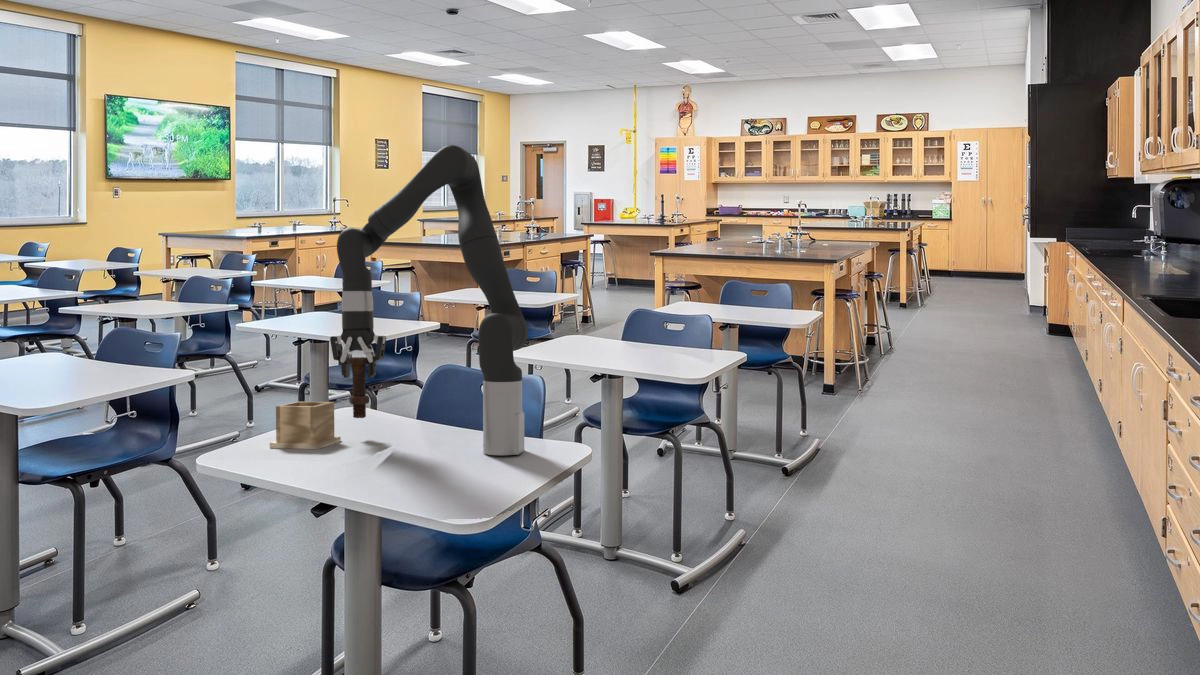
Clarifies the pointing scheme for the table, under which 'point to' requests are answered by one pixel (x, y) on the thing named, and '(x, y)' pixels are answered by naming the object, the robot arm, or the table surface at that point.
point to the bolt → (358, 386)
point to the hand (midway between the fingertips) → (358, 377)
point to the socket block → (305, 425)
